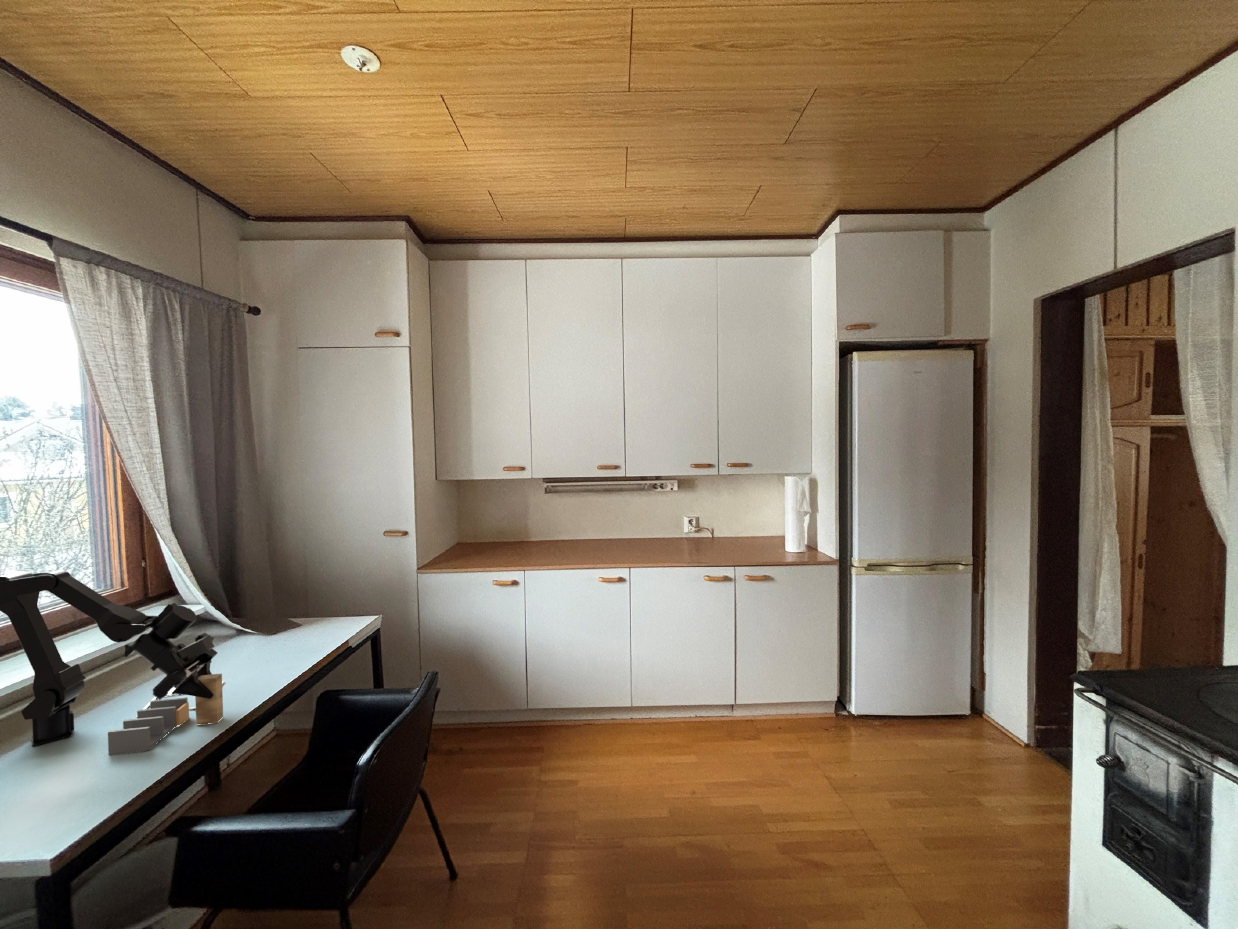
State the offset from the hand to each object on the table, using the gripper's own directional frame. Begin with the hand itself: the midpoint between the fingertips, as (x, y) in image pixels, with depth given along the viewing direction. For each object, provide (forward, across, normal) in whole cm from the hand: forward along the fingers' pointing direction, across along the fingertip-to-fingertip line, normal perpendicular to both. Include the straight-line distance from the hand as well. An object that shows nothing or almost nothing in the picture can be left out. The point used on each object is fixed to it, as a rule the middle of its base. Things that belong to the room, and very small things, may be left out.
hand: (215, 694), depth 141 cm
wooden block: (+4, 0, +6) cm, 7 cm away
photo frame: (-5, +16, +16) cm, 23 cm away
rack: (-4, -4, +13) cm, 14 cm away
